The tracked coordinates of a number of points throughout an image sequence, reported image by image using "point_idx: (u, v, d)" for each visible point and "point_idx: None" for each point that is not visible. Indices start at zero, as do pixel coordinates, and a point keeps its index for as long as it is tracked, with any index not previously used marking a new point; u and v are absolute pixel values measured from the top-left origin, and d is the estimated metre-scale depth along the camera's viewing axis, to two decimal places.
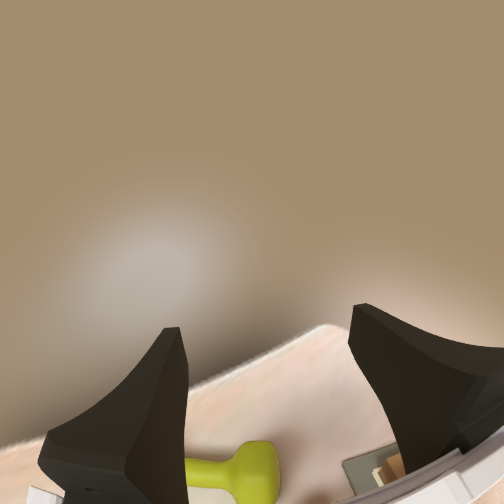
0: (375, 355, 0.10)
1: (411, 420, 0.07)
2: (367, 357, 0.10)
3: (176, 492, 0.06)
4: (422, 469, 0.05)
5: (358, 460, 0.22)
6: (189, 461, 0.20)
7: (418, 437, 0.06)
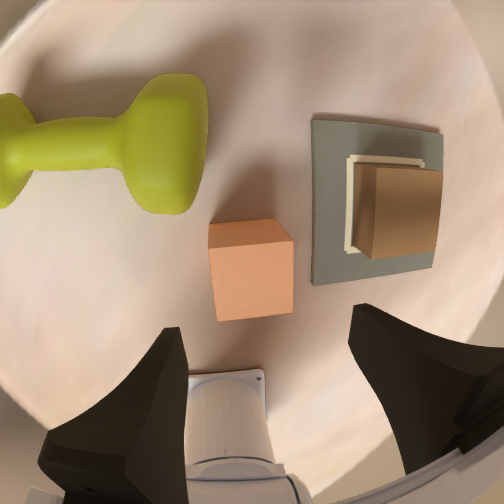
0: (375, 355, 0.10)
1: (411, 420, 0.07)
2: (367, 357, 0.10)
3: (176, 492, 0.06)
4: (422, 469, 0.05)
5: (336, 128, 0.18)
6: (59, 134, 0.12)
7: (418, 437, 0.06)
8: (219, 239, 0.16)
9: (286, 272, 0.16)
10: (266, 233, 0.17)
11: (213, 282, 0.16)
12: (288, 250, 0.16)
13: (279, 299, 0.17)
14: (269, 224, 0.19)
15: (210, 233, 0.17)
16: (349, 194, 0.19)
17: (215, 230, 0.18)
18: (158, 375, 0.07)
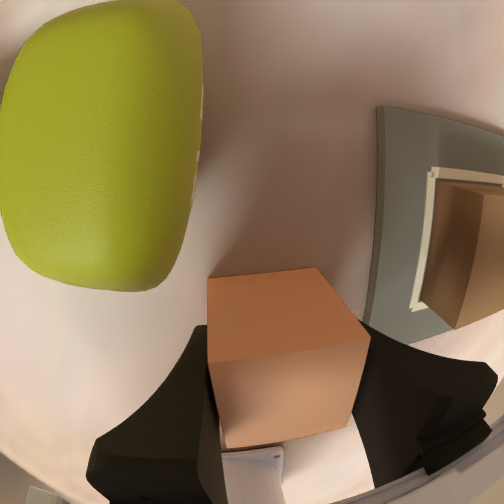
0: None
1: (378, 433, 0.07)
2: None
3: (221, 491, 0.06)
4: (422, 469, 0.05)
5: (414, 122, 0.10)
6: None
7: (385, 451, 0.06)
8: (229, 328, 0.08)
9: (349, 383, 0.08)
10: (314, 312, 0.09)
11: (219, 408, 0.08)
12: (359, 352, 0.08)
13: (330, 416, 0.09)
14: (312, 284, 0.11)
15: (210, 308, 0.09)
16: (426, 228, 0.11)
17: (219, 299, 0.10)
18: (202, 373, 0.07)
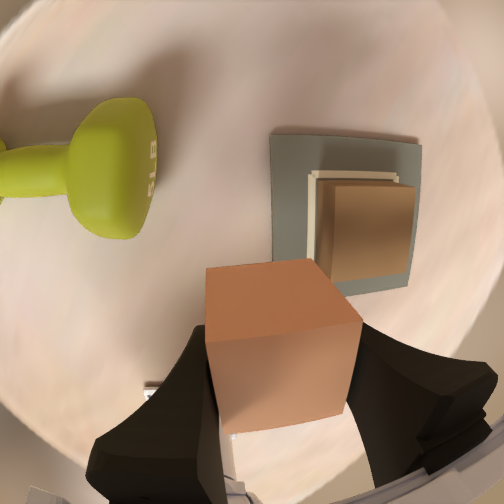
0: None
1: (378, 433, 0.07)
2: None
3: (221, 491, 0.06)
4: (422, 469, 0.05)
5: (296, 142, 0.17)
6: (18, 164, 0.11)
7: (385, 451, 0.06)
8: (226, 312, 0.09)
9: (343, 367, 0.08)
10: (309, 297, 0.09)
11: (217, 390, 0.08)
12: (352, 335, 0.08)
13: (325, 402, 0.09)
14: (307, 273, 0.11)
15: (208, 294, 0.10)
16: (311, 212, 0.19)
17: (217, 286, 0.10)
18: (202, 373, 0.07)
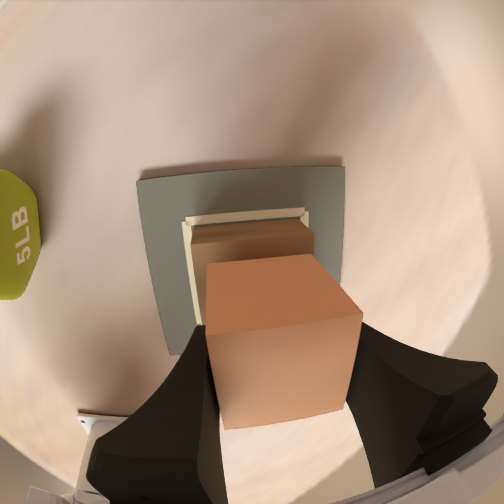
0: None
1: (378, 433, 0.07)
2: None
3: (221, 491, 0.06)
4: (422, 469, 0.05)
5: (164, 186, 0.15)
6: None
7: (385, 451, 0.06)
8: (226, 306, 0.09)
9: (343, 361, 0.08)
10: (309, 292, 0.09)
11: (217, 384, 0.08)
12: (352, 329, 0.08)
13: (326, 397, 0.09)
14: (307, 268, 0.11)
15: (209, 288, 0.10)
16: (190, 264, 0.17)
17: (217, 281, 0.10)
18: (202, 373, 0.07)
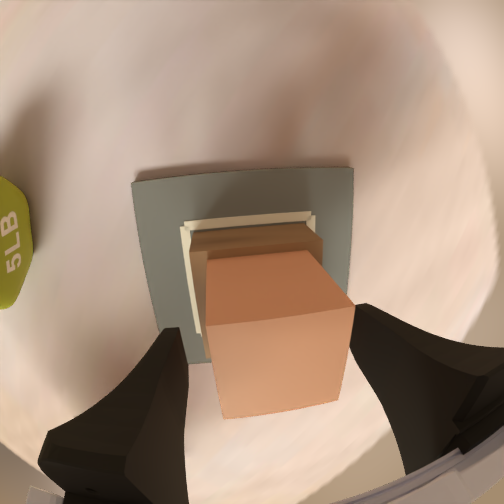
0: (375, 355, 0.10)
1: (411, 420, 0.07)
2: (367, 357, 0.10)
3: (176, 492, 0.06)
4: (422, 469, 0.05)
5: (161, 188, 0.14)
6: None
7: (418, 437, 0.06)
8: (225, 299, 0.09)
9: (337, 352, 0.09)
10: (304, 286, 0.10)
11: (216, 374, 0.09)
12: (345, 321, 0.09)
13: (321, 388, 0.10)
14: (303, 264, 0.12)
15: (209, 283, 0.10)
16: (190, 271, 0.16)
17: (217, 276, 0.11)
18: (158, 375, 0.07)
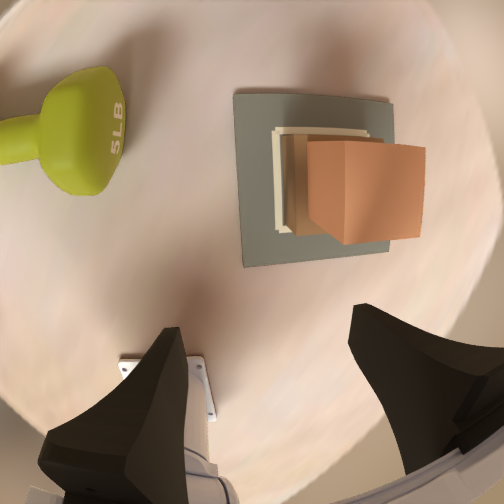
0: (375, 355, 0.10)
1: (411, 420, 0.07)
2: (367, 357, 0.10)
3: (176, 492, 0.06)
4: (422, 469, 0.05)
5: (258, 100, 0.17)
6: (0, 132, 0.11)
7: (418, 437, 0.06)
8: None
9: (418, 183, 0.12)
10: None
11: (346, 186, 0.11)
12: (421, 157, 0.11)
13: (410, 218, 0.12)
14: None
15: (323, 141, 0.13)
16: (276, 168, 0.19)
17: None
18: (158, 375, 0.07)
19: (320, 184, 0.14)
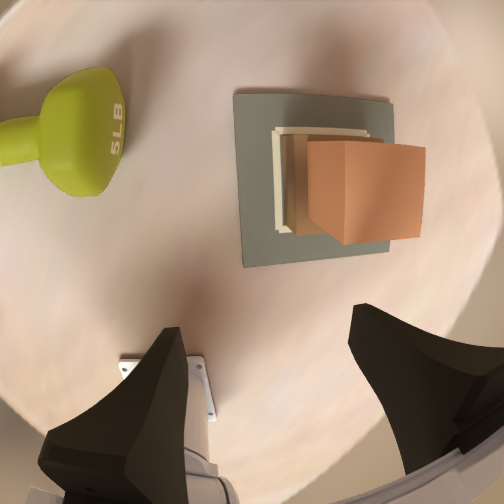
0: (375, 355, 0.10)
1: (411, 420, 0.07)
2: (367, 357, 0.10)
3: (176, 492, 0.06)
4: (422, 469, 0.05)
5: (258, 100, 0.17)
6: (0, 134, 0.11)
7: (418, 437, 0.06)
8: None
9: (418, 183, 0.12)
10: None
11: (346, 186, 0.11)
12: (421, 157, 0.11)
13: (410, 218, 0.12)
14: None
15: (323, 141, 0.13)
16: (276, 168, 0.19)
17: None
18: (158, 375, 0.07)
19: (320, 184, 0.14)
